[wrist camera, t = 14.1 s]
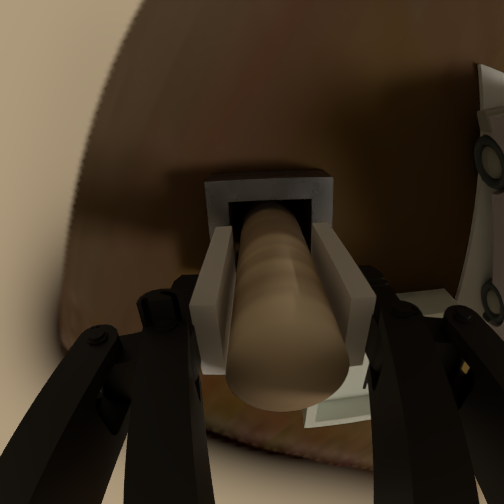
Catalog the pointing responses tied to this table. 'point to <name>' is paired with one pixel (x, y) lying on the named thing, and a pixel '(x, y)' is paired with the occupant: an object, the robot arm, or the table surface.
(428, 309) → the tray
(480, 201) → the mat
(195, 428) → the robot arm
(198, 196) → the table surface
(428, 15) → the table surface
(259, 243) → the pin
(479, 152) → the toy vehicle
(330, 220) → the socket
